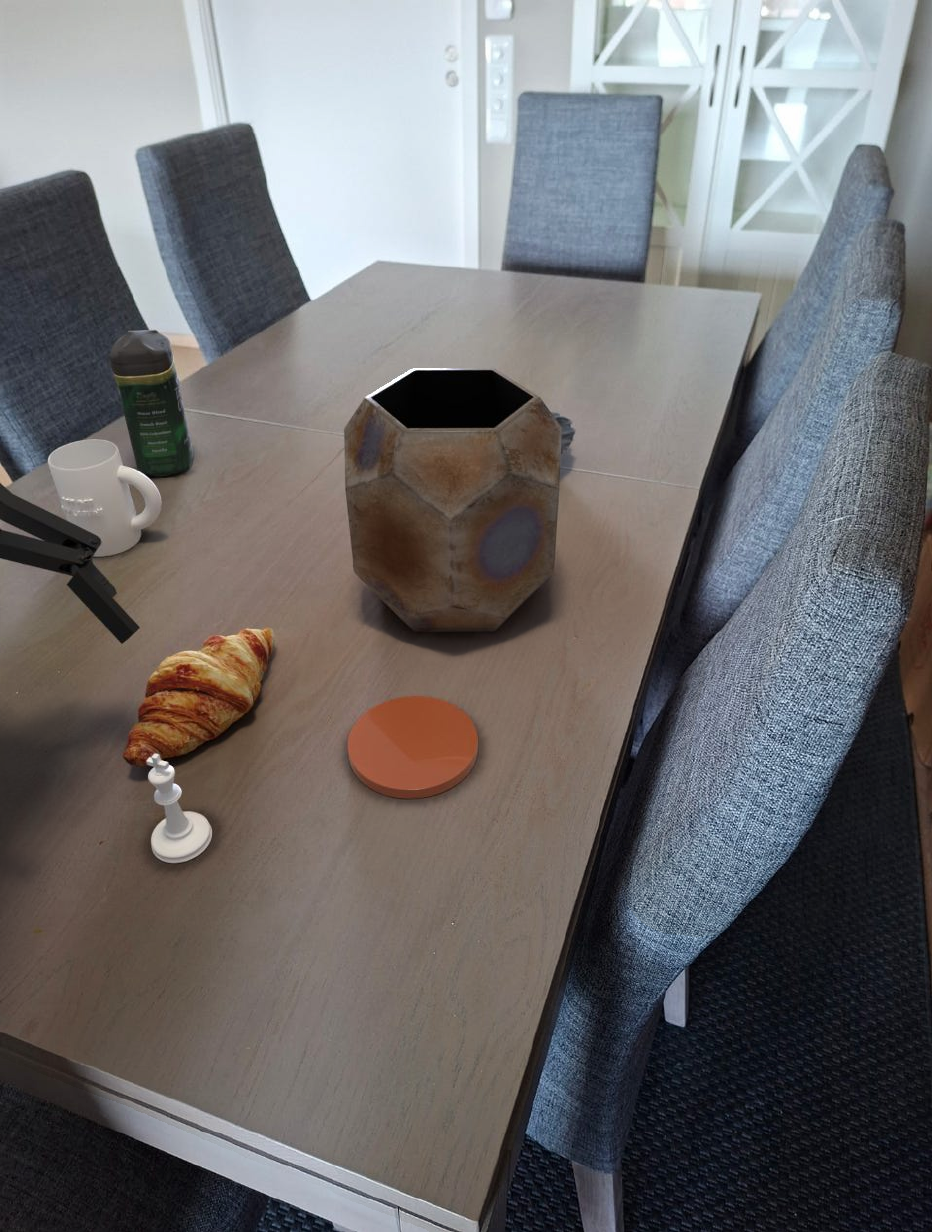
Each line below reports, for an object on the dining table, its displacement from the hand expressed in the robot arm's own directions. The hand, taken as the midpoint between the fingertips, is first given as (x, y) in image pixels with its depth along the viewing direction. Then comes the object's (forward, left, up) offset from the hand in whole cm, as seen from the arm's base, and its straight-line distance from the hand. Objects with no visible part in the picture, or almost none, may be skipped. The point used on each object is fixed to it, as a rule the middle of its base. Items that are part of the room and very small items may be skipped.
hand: (66, 685), depth 67 cm
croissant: (+6, +13, -15) cm, 20 cm away
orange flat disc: (+26, +7, -14) cm, 30 cm away
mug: (-12, +44, -15) cm, 48 cm away
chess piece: (+7, -3, -15) cm, 16 cm away
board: (+36, +64, -15) cm, 74 cm away
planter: (+30, +32, -15) cm, 46 cm away
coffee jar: (-12, +65, -15) cm, 67 cm away
